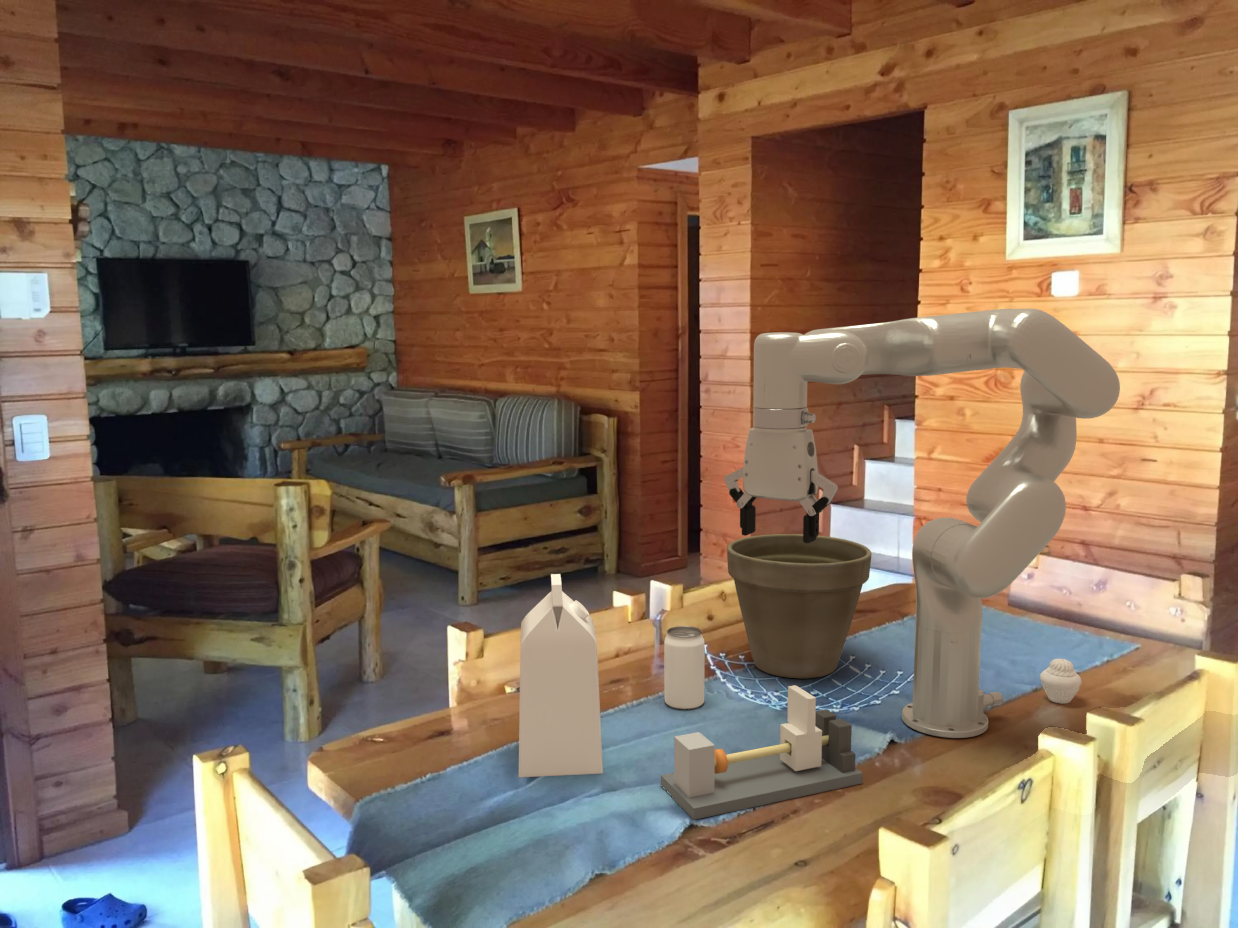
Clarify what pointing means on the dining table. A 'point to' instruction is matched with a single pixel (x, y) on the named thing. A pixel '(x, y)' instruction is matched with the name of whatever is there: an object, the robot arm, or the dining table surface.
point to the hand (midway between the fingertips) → (778, 537)
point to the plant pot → (797, 599)
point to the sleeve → (801, 731)
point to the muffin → (1060, 681)
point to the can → (684, 667)
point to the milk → (559, 689)
